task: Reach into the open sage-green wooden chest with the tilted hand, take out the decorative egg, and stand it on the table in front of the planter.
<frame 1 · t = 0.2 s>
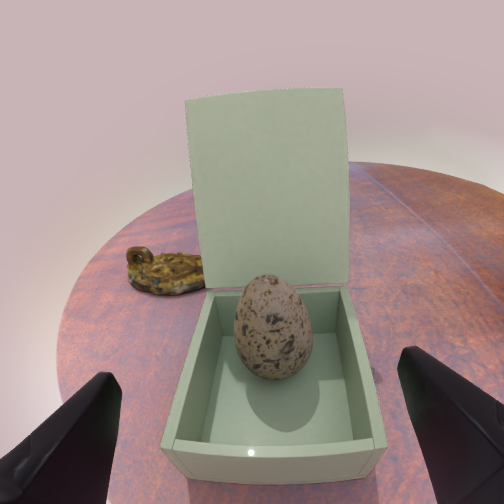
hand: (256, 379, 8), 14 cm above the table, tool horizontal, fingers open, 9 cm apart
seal: (171, 277, 41), on the table
decorative egg: (278, 365, 25), point 1 cm above the table, touching chest
chest: (278, 399, 22), on the table
chest lid: (271, 187, 25), point 14 cm above the table, hinge at 100.0°
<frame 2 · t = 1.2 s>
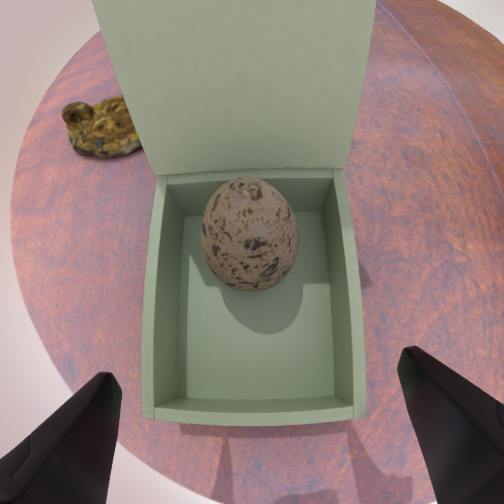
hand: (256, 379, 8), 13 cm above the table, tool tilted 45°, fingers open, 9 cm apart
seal: (118, 128, 29), on the table
decorative egg: (253, 262, 23), point 1 cm above the table, touching chest
chest: (254, 304, 22), on the table
chest lid: (239, 36, 13), point 14 cm above the table, hinge at 100.0°
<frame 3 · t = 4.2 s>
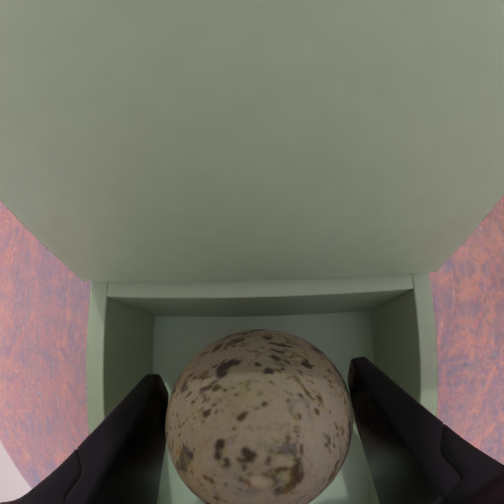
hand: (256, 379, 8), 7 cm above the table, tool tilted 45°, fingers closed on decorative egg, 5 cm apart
decorative egg: (263, 396, 13), point 1 cm above the table, touching chest, gripper
chest: (263, 448, 13), on the table
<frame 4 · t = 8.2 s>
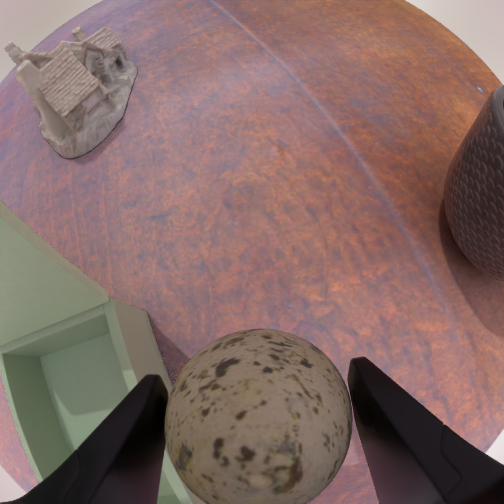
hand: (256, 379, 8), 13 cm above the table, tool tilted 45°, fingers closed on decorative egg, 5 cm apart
planter: (476, 228, 23), on the table
decorative egg: (262, 395, 13), point 7 cm above the table, touching gripper
ceramic cottage: (93, 104, 31), on the table
chest: (113, 422, 19), on the table
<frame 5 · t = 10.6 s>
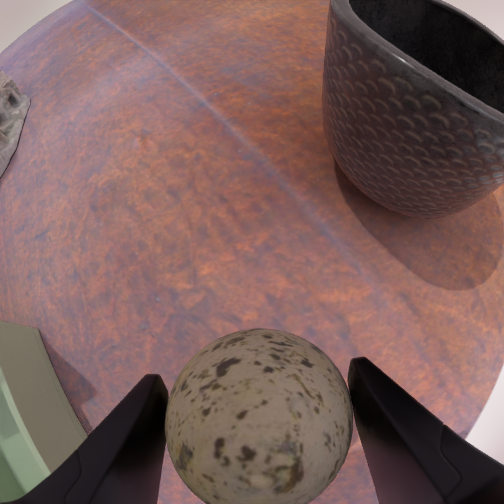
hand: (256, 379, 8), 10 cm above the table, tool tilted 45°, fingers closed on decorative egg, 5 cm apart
planter: (391, 166, 21), on the table
decorative egg: (263, 395, 13), point 4 cm above the table, touching gripper
chest: (35, 442, 15), on the table
when the fingers open (6 cm above the table, at t = 12.2 s): decorative egg stays where it is, on the table.
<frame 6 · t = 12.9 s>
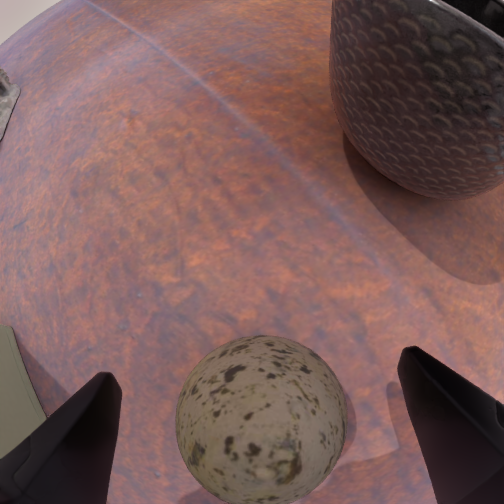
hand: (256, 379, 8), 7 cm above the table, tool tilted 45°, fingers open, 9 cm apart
planter: (406, 147, 19), on the table
decorative egg: (263, 396, 14), on the table
chest: (10, 451, 12), on the table
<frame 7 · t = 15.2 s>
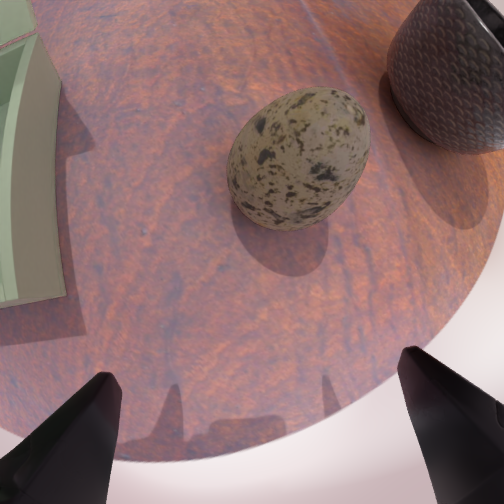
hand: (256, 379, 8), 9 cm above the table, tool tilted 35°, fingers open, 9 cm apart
planter: (420, 108, 23), on the table
decorative egg: (267, 193, 18), on the table
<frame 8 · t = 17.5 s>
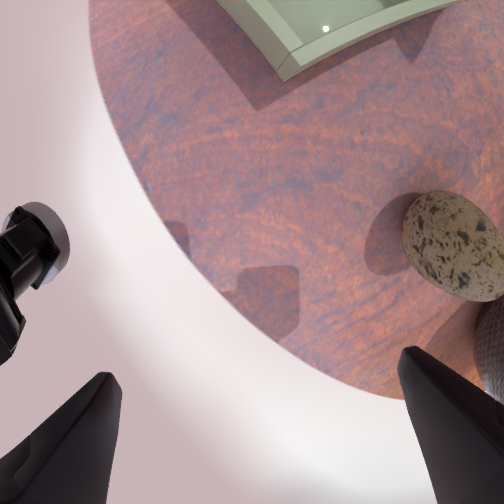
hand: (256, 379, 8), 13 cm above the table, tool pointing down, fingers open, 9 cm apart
planter: (498, 309, 25), on the table
decorative egg: (417, 217, 20), on the table
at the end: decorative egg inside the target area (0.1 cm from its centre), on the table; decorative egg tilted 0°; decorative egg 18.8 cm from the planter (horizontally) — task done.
